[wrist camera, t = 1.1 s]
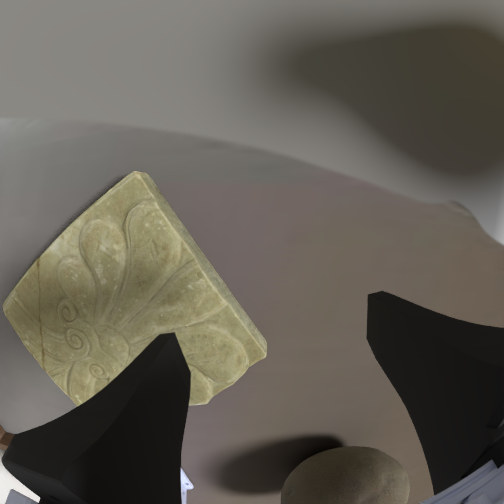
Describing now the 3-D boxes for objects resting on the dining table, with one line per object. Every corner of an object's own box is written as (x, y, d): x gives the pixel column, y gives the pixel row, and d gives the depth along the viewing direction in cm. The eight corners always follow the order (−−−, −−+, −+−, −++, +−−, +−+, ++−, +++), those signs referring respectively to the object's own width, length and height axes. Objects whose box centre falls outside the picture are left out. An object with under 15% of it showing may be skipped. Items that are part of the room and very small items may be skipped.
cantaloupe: (339, 481, 31) (372, 550, 16) (254, 480, 28) (273, 569, 14) (392, 419, 29) (449, 492, 15) (304, 413, 27) (353, 522, 12)
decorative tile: (12, 297, 21) (-7, 308, 18) (146, 169, 21) (134, 164, 18) (122, 425, 25) (115, 445, 22) (271, 342, 25) (279, 362, 22)
